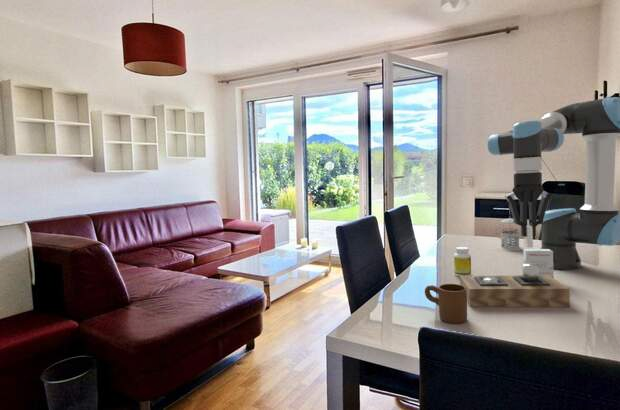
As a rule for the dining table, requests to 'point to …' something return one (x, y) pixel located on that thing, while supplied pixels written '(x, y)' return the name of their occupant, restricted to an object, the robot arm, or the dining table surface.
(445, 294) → the mug
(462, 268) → the pill bottle
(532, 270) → the peg
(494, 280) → the peg
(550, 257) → the ink box
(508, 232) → the french press
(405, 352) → the dining table surface
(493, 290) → the block
